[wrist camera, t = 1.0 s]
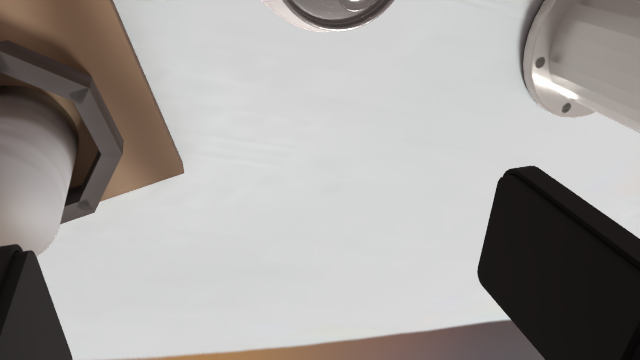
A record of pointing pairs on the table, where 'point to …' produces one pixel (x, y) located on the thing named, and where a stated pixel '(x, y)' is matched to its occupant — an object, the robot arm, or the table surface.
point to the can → (328, 13)
